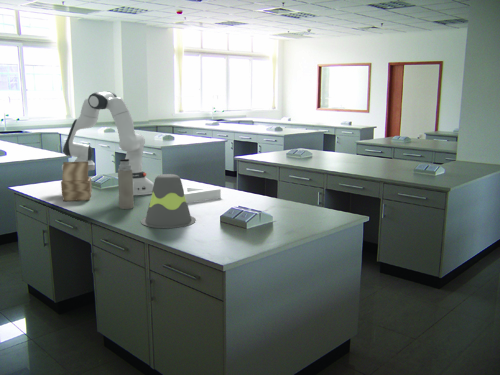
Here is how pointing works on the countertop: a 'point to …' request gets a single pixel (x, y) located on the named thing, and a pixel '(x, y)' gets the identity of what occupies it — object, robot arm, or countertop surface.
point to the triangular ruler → (200, 194)
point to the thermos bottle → (125, 185)
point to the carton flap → (75, 171)
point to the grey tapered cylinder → (168, 204)
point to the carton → (76, 190)
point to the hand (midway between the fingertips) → (77, 168)
